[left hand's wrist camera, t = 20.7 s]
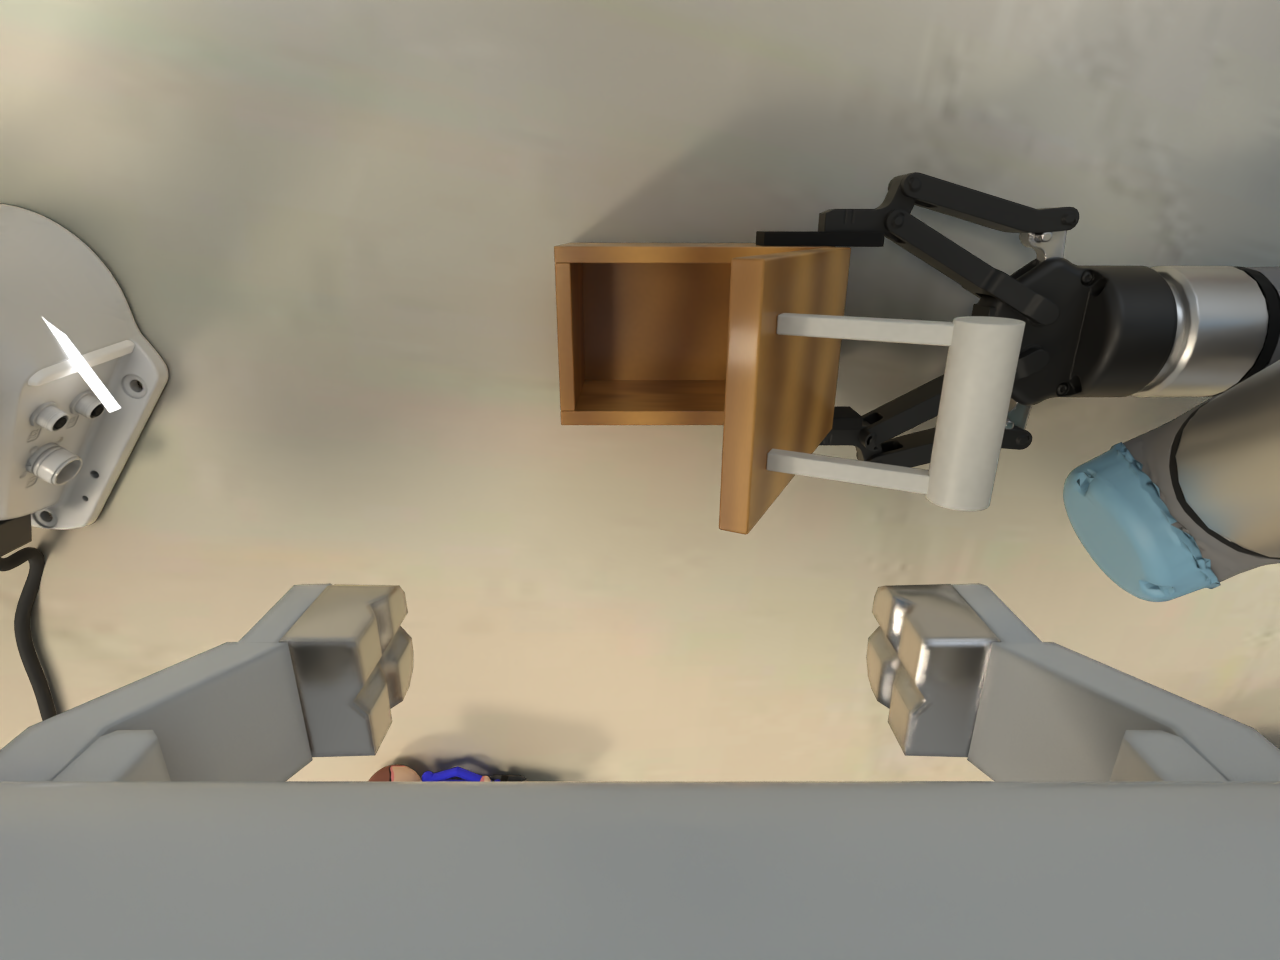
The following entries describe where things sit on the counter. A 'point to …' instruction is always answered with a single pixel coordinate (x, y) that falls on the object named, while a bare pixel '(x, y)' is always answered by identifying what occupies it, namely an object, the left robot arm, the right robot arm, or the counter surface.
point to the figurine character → (436, 776)
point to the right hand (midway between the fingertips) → (754, 332)
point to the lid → (807, 378)
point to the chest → (645, 330)
